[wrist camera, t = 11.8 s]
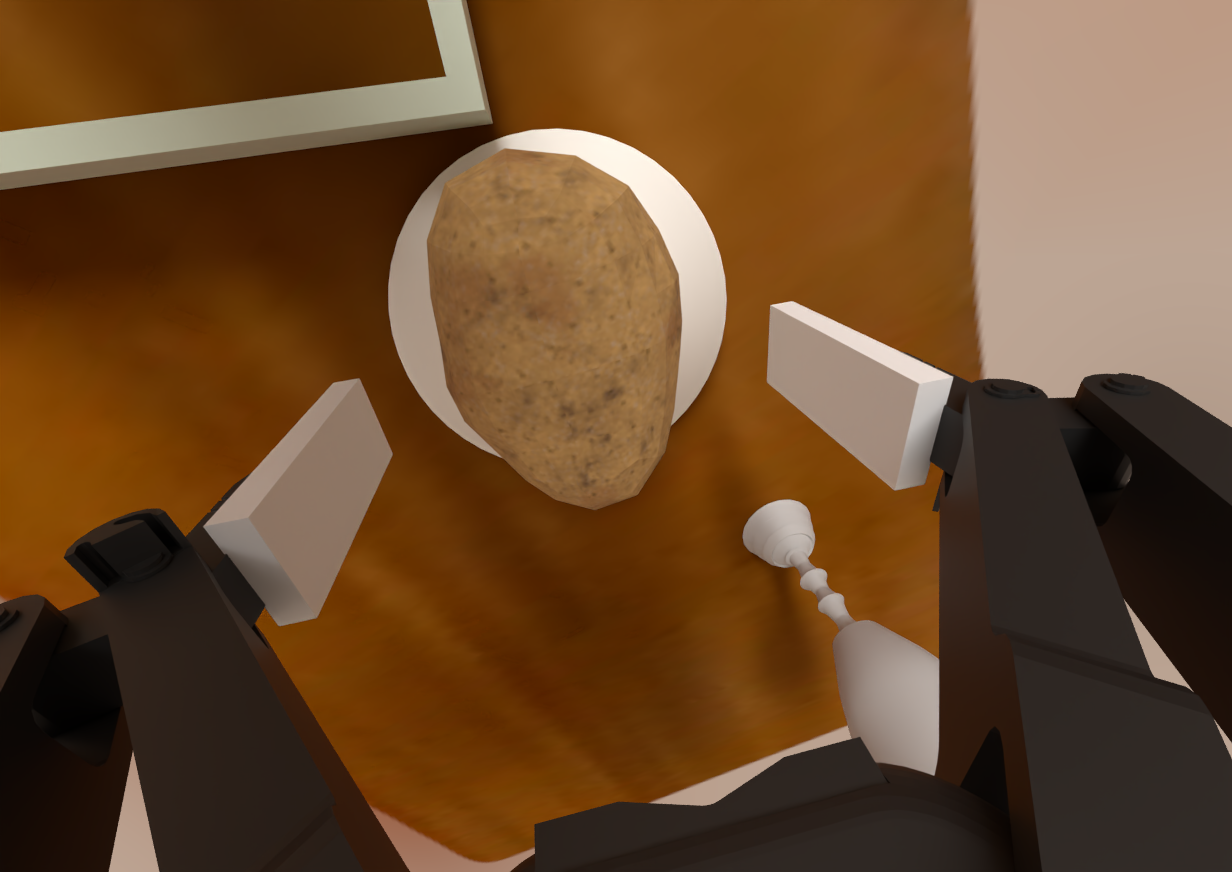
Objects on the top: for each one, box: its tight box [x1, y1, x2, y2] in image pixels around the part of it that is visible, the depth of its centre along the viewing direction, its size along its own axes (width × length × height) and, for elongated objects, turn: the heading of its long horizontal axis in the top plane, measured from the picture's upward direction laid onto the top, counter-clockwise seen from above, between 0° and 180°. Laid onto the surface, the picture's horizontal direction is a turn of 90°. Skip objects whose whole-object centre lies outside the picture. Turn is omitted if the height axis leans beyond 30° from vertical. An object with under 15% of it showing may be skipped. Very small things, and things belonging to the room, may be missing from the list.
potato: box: [427, 148, 682, 510], centre depth 19 cm, size 10×14×8 cm
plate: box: [388, 129, 726, 458], centre depth 23 cm, size 16×16×1 cm
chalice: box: [743, 500, 939, 776], centre depth 25 cm, size 7×7×18 cm
